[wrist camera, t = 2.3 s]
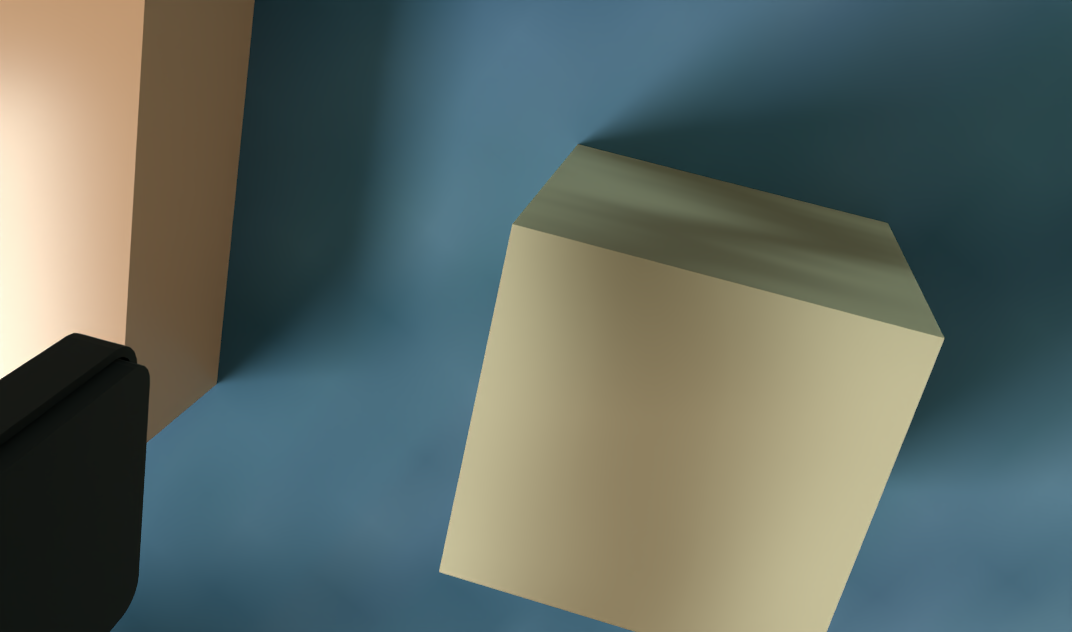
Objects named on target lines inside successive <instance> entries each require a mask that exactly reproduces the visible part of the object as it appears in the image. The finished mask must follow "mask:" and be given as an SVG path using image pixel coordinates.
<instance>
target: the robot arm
mask: <svg viewBox="0 0 1072 632" xmlns="http://www.w3.org/2000/svg"><path fill="white" fill-rule="evenodd" d="M149 393H150V374H149V371H148V369H147V368H146V367H145V366H144V365H140V364H137V357H136V354H135V351H134V350H133V349H132V348H131V347H128V346H125V345H121V344H117V343H114V342H110V341H106V340H103V339H99V338H95V337H91V336H88V335H84V334H80V333H72V334H70V335H68V336H66V337H64V338H63V339H61V340H59V341H58V342H56V343H55V344H53V345H52V346H50V347H49V348H47V349H46V350H44V351H43V352H41V353H40V354H38V355H37V356H35V357H33V358H32V359H30V360H29V361H27V362H26V363H24V364H23V365H21V366H20V367H18V368H17V369H15V370H14V371H12V372H11V373H9V374H7V375H6V376H4V377H3V378H1V379H0V632H110V631H111V629H112V628H113V627H114V626H115V625H116V623H117V622H118V621H119V620H120V619H121V617H122V616H123V615H124V613H125V612H126V611H127V609H128V607H129V605H130V603H131V601H132V599H133V596H134V594H135V591H136V587H137V583H138V576H139V560H140V543H141V526H142V510H143V493H144V476H145V460H146V443H147V426H148V410H149Z"/></svg>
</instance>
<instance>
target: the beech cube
mask: <svg viewBox="0 0 1072 632" xmlns="http://www.w3.org/2000/svg"><path fill="white" fill-rule="evenodd" d="M944 339H945V338H944V336H943V334H942V332H941V330H940V328H939V326H938V324H937V322H936V320H935V318H934V316H933V314H932V312H931V310H930V308H929V306H928V304H927V302H926V300H925V298H924V296H923V294H922V292H921V289H920V287H919V285H918V283H917V281H916V279H915V277H914V275H913V273H912V271H911V269H910V267H909V265H908V263H907V261H906V259H905V257H904V255H903V253H902V251H901V249H900V247H899V245H898V243H897V241H896V239H895V237H894V235H893V233H892V230H891V228H890V226H889V224H888V223H885V222H881V221H878V220H874V219H870V218H866V217H862V216H858V215H854V214H850V213H846V212H842V211H838V210H834V209H830V208H826V207H823V206H819V205H815V204H811V203H807V202H803V201H799V200H795V199H791V198H787V197H783V196H779V195H775V194H772V193H768V192H764V191H760V190H756V189H752V188H748V187H744V186H740V185H736V184H732V183H728V182H724V181H720V180H717V179H713V178H709V177H705V176H701V175H697V174H693V173H689V172H685V171H681V170H677V169H673V168H669V167H665V166H662V165H658V164H654V163H650V162H646V161H642V160H638V159H634V158H630V157H626V156H622V155H618V154H614V153H611V152H607V151H603V150H599V149H595V148H591V147H587V146H583V145H579V144H578V145H577V146H576V147H575V149H574V150H573V151H572V152H571V153H570V155H569V156H568V157H567V158H566V159H565V161H564V162H563V163H562V164H561V166H560V167H559V168H558V169H557V170H556V172H555V173H554V174H553V175H552V177H551V178H550V179H549V180H548V181H547V183H546V184H545V185H544V186H543V188H542V189H541V190H540V191H539V192H538V194H537V195H536V196H535V197H534V198H533V200H532V201H531V202H530V203H529V205H528V206H527V207H526V208H525V209H524V211H523V212H522V213H521V214H520V216H519V217H518V218H517V219H516V220H515V222H514V223H513V224H512V229H511V234H510V238H509V243H508V248H507V253H506V257H505V262H504V267H503V271H502V276H501V281H500V286H499V290H498V295H497V300H496V305H495V309H494V314H493V319H492V324H491V328H490V333H489V338H488V343H487V347H486V352H485V357H484V362H483V366H482V371H481V376H480V380H479V385H478V390H477V395H476V399H475V404H474V409H473V414H472V418H471V423H470V428H469V433H468V437H467V442H466V447H465V452H464V456H463V461H462V466H461V471H460V475H459V480H458V485H457V489H456V494H455V499H454V504H453V508H452V513H451V518H450V523H449V527H448V532H447V537H446V542H445V546H444V551H443V556H442V561H441V565H440V570H439V572H441V573H444V574H448V575H451V576H454V577H457V578H461V579H464V580H467V581H471V582H474V583H477V584H481V585H484V586H487V587H490V588H494V589H497V590H500V591H504V592H507V593H510V594H513V595H517V596H520V597H523V598H527V599H530V600H533V601H536V602H540V603H543V604H546V605H550V606H553V607H556V608H560V609H563V610H566V611H569V612H573V613H576V614H579V615H583V616H586V617H589V618H592V619H596V620H599V621H602V622H606V623H609V624H612V625H615V626H619V627H622V628H625V629H629V630H632V631H635V632H827V629H828V627H829V624H830V622H831V619H832V617H833V614H834V612H835V609H836V607H837V604H838V602H839V599H840V597H841V594H842V592H843V589H844V587H845V585H846V582H847V580H848V577H849V575H850V572H851V570H852V567H853V565H854V562H855V560H856V557H857V555H858V552H859V550H860V547H861V545H862V542H863V540H864V537H865V535H866V532H867V530H868V527H869V525H870V522H871V520H872V517H873V515H874V512H875V510H876V507H877V505H878V503H879V500H880V498H881V495H882V493H883V490H884V488H885V485H886V483H887V480H888V478H889V475H890V473H891V470H892V468H893V465H894V463H895V460H896V458H897V455H898V453H899V450H900V448H901V445H902V443H903V440H904V438H905V435H906V433H907V430H908V428H909V425H910V423H911V421H912V418H913V416H914V413H915V411H916V408H917V406H918V403H919V401H920V398H921V396H922V393H923V391H924V388H925V386H926V383H927V381H928V378H929V376H930V373H931V371H932V368H933V366H934V363H935V361H936V358H937V356H938V353H939V351H940V348H941V346H942V343H943V341H944Z"/></svg>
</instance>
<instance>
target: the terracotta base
mask: <svg viewBox="0 0 1072 632" xmlns="http://www.w3.org/2000/svg"><path fill="white" fill-rule="evenodd" d="M254 2H255V0H0V379H1V378H3V377H4V376H6V375H7V374H9V373H11V372H12V371H14V370H15V369H17V368H18V367H20V366H21V365H23V364H24V363H26V362H27V361H29V360H30V359H32V358H33V357H35V356H37V355H38V354H40V353H41V352H43V351H44V350H46V349H47V348H49V347H50V346H52V345H53V344H55V343H56V342H58V341H59V340H61V339H63V338H64V337H66V336H68V335H70V334H72V333H80V334H84V335H88V336H91V337H95V338H99V339H103V340H106V341H110V342H114V343H117V344H121V345H125V346H128V347H131V348H132V349H133V350H134V351H135V354H136V357H137V364H140V365H144V366H145V367H146V368H147V369H148V371H149V374H150V393H149V410H148V426H147V442H148V441H149V440H150V439H152V438H153V437H154V436H155V435H156V434H158V433H159V432H160V431H161V430H162V429H164V428H165V427H166V426H167V425H168V424H169V423H171V422H172V421H173V420H174V419H175V418H177V417H178V416H179V415H180V414H181V413H183V412H184V411H185V410H186V409H187V408H189V407H190V406H191V405H192V404H193V403H195V402H196V401H197V400H198V399H199V398H200V397H202V396H203V395H204V394H205V393H206V392H208V391H209V390H210V389H211V388H212V387H214V386H215V385H216V384H217V376H218V366H219V356H220V346H221V336H222V326H223V315H224V305H225V295H226V285H227V275H228V265H229V255H230V245H231V235H232V224H233V214H234V204H235V194H236V184H237V174H238V164H239V154H240V144H241V134H242V123H243V113H244V103H245V93H246V83H247V73H248V63H249V53H250V43H251V32H252V22H253V12H254Z"/></svg>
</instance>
